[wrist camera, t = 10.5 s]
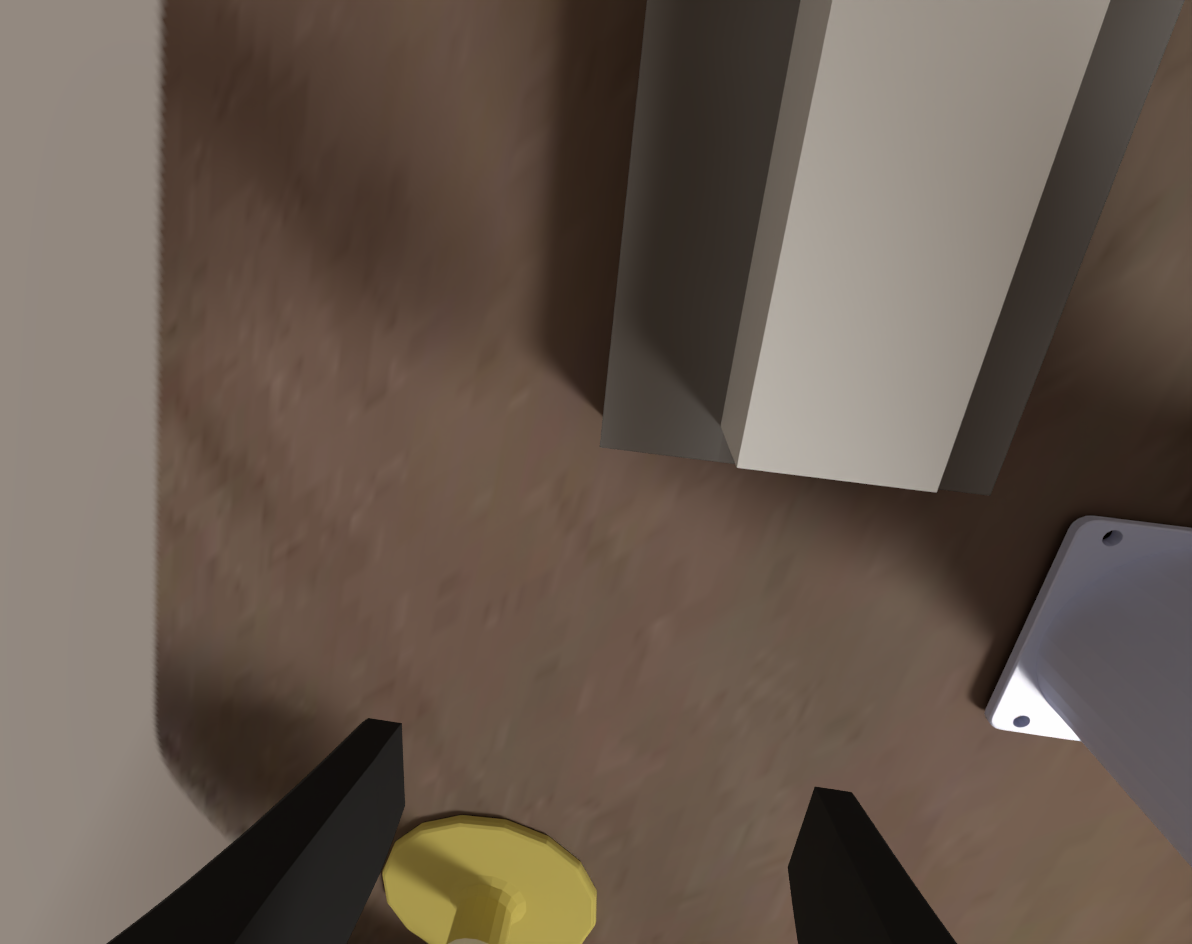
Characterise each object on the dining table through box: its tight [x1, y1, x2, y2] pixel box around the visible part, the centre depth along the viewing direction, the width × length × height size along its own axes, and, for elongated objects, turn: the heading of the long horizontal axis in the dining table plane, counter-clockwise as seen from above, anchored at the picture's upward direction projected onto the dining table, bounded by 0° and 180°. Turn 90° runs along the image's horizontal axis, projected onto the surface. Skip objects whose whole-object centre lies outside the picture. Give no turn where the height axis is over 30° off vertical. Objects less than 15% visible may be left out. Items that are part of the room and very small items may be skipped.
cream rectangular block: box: [721, 0, 1110, 493], centre depth 12 cm, size 4×12×6 cm, turn 175°
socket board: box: [600, 0, 1184, 496], centre depth 13 cm, size 10×14×2 cm
